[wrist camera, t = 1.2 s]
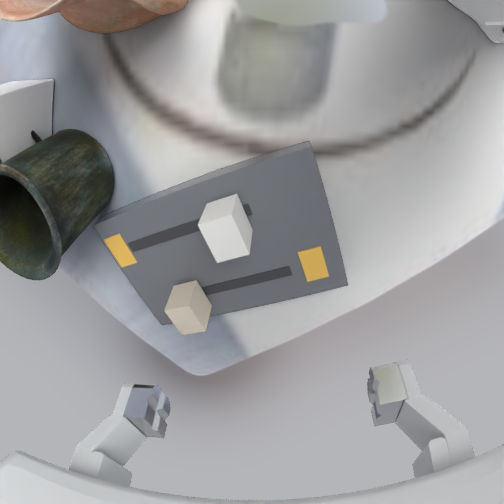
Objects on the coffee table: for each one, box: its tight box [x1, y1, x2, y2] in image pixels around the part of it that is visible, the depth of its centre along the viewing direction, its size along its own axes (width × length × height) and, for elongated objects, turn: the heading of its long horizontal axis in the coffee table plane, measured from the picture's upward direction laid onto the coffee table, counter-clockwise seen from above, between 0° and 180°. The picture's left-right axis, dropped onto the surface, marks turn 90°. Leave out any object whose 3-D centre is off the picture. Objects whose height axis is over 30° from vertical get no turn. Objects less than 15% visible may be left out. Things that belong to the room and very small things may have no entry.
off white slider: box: [198, 194, 253, 263], centre depth 27 cm, size 3×4×4 cm
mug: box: [0, 129, 114, 280], centre depth 24 cm, size 11×15×12 cm
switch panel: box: [93, 141, 348, 325], centre depth 33 cm, size 24×16×2 cm, turn 110°
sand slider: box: [164, 280, 212, 335], centre depth 34 cm, size 3×4×4 cm
